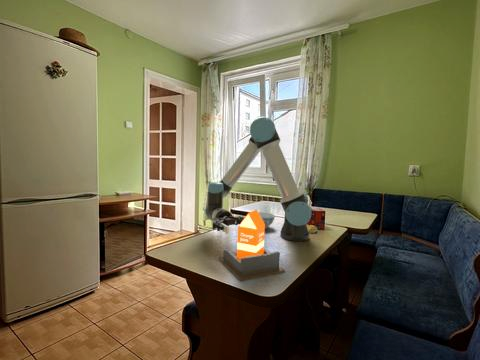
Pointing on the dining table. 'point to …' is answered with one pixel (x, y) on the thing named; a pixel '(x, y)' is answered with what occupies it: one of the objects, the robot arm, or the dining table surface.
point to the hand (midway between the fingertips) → (243, 228)
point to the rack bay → (252, 264)
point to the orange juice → (251, 235)
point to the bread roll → (311, 228)
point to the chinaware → (267, 218)
